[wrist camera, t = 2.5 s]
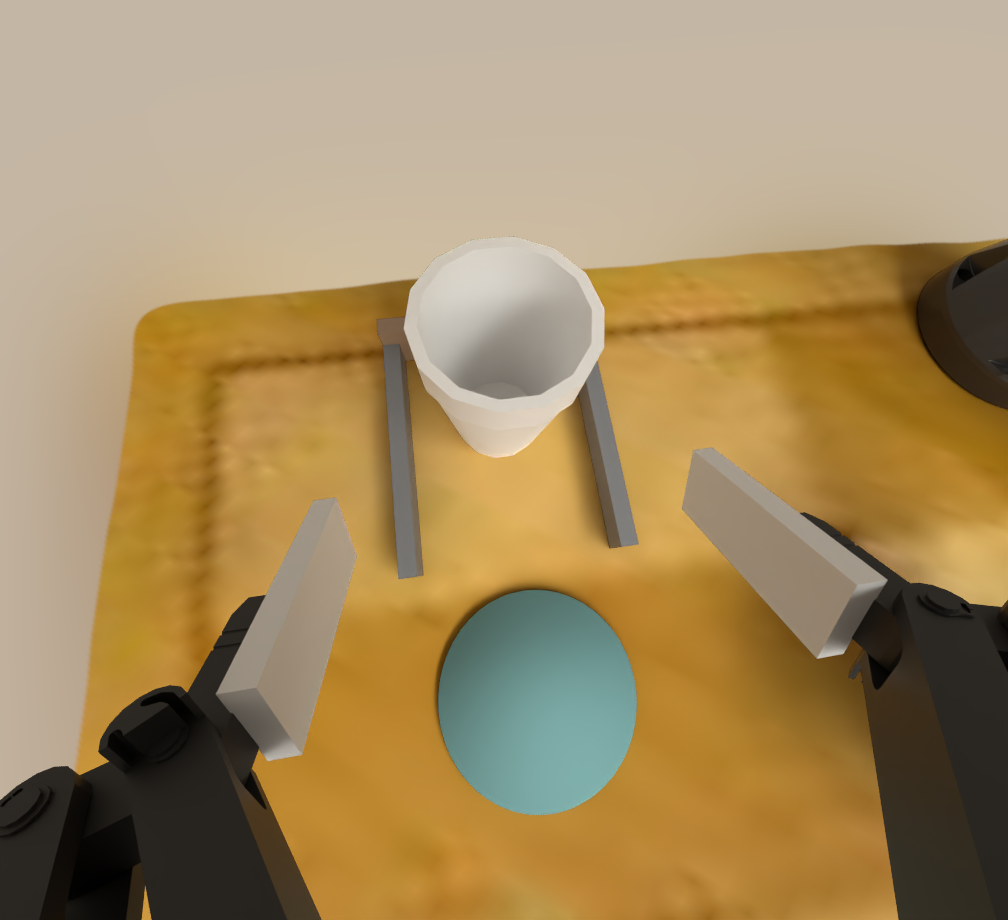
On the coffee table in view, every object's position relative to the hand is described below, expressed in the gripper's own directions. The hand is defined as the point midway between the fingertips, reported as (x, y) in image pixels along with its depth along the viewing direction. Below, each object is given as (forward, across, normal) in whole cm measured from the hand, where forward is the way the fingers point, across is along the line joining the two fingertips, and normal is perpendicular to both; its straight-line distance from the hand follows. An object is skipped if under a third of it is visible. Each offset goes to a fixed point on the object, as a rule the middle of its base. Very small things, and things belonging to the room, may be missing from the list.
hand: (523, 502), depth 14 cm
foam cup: (+17, +1, -4) cm, 17 cm away
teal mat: (+3, +1, -18) cm, 18 cm away
